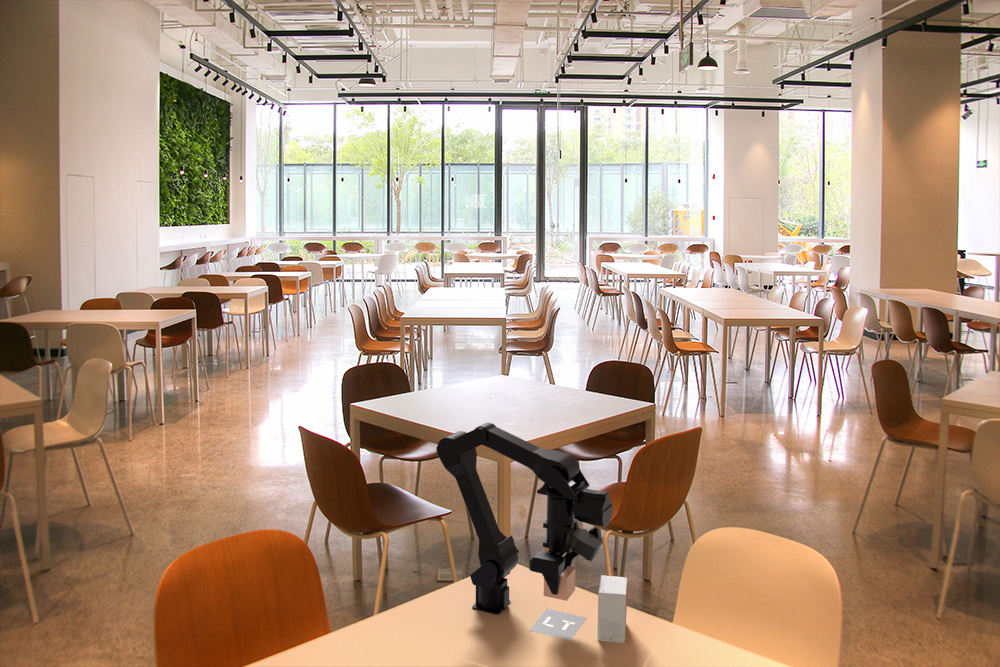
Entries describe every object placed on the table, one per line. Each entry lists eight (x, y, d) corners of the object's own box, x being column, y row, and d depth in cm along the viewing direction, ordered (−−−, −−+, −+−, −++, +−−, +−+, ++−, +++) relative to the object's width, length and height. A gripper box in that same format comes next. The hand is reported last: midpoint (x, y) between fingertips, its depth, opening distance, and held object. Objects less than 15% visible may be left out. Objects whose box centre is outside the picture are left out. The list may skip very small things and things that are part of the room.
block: (543, 595, 158) (544, 572, 158) (552, 585, 163) (553, 563, 162) (566, 600, 156) (567, 577, 155) (575, 590, 161) (575, 567, 160)
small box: (625, 644, 153) (626, 595, 152) (596, 641, 154) (598, 592, 153) (626, 624, 161) (628, 576, 160) (599, 621, 162) (600, 574, 161)
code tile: (528, 631, 158) (528, 630, 158) (547, 609, 167) (547, 608, 167) (570, 641, 154) (570, 640, 154) (586, 618, 163) (586, 617, 163)
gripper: (582, 540, 145) (581, 618, 148) (612, 507, 162) (610, 577, 164) (528, 530, 150) (527, 605, 152) (562, 499, 167) (561, 567, 169)
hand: (559, 588), depth 159 cm, fingers closed on block, 5 cm apart
